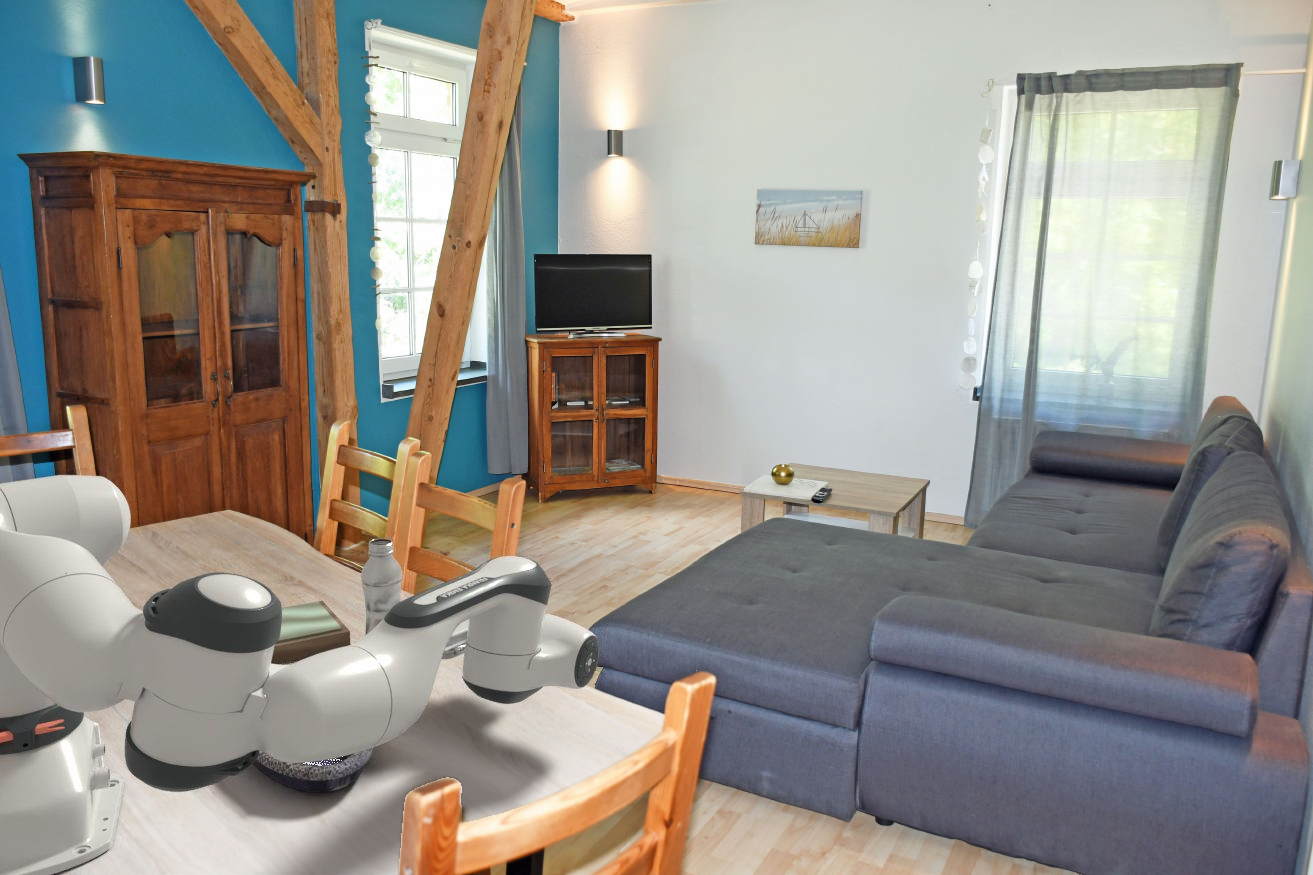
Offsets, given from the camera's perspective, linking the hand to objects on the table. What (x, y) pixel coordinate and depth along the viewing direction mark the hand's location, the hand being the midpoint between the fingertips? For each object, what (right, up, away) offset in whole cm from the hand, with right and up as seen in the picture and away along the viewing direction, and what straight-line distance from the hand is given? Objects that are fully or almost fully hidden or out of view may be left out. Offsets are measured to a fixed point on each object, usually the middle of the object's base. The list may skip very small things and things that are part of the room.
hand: (436, 609), depth 146 cm
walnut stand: (-28, -8, +17) cm, 33 cm away
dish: (-14, -16, -17) cm, 27 cm away
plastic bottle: (-10, -10, +9) cm, 17 cm away
